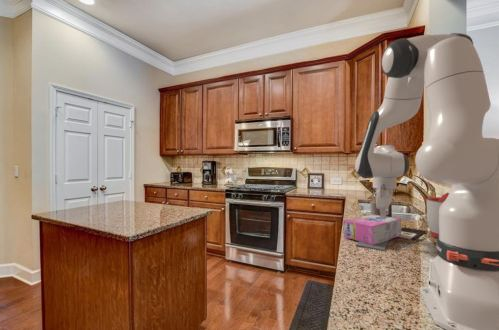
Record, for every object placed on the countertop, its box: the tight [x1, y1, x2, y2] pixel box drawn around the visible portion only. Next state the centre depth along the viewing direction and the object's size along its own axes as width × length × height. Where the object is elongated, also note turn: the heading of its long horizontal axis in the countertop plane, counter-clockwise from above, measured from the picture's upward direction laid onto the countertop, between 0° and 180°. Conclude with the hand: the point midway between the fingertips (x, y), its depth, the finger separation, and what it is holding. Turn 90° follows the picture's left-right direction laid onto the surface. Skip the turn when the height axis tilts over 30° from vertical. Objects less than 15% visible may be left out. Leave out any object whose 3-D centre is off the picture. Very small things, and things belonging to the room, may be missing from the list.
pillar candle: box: [369, 199, 393, 217], centre depth 123 cm, size 10×10×15 cm
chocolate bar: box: [398, 226, 426, 241], centre depth 113 cm, size 9×1×18 cm
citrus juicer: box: [425, 192, 449, 239], centre depth 107 cm, size 16×17×20 cm
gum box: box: [343, 213, 402, 245], centre depth 108 cm, size 24×8×14 cm
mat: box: [355, 240, 390, 252], centre depth 104 cm, size 24×10×1 cm, turn 144°
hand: (384, 216), depth 101 cm, fingers open, 8 cm apart
